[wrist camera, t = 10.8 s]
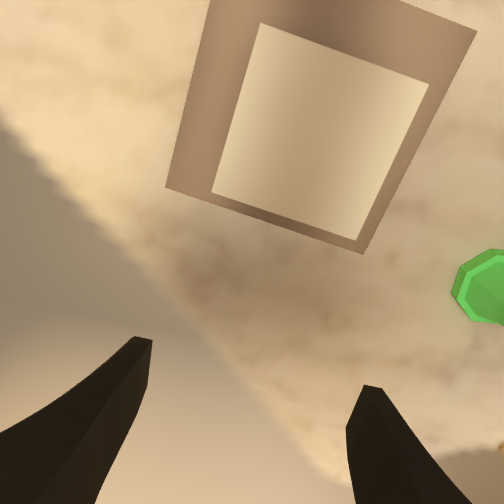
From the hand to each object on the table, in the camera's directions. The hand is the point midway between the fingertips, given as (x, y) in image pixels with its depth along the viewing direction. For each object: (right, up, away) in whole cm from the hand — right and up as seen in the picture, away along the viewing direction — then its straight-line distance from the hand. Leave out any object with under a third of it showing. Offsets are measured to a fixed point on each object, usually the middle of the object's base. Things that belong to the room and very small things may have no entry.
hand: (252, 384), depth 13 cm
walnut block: (+2, +11, +5) cm, 13 cm away
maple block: (+2, +9, +2) cm, 10 cm away
